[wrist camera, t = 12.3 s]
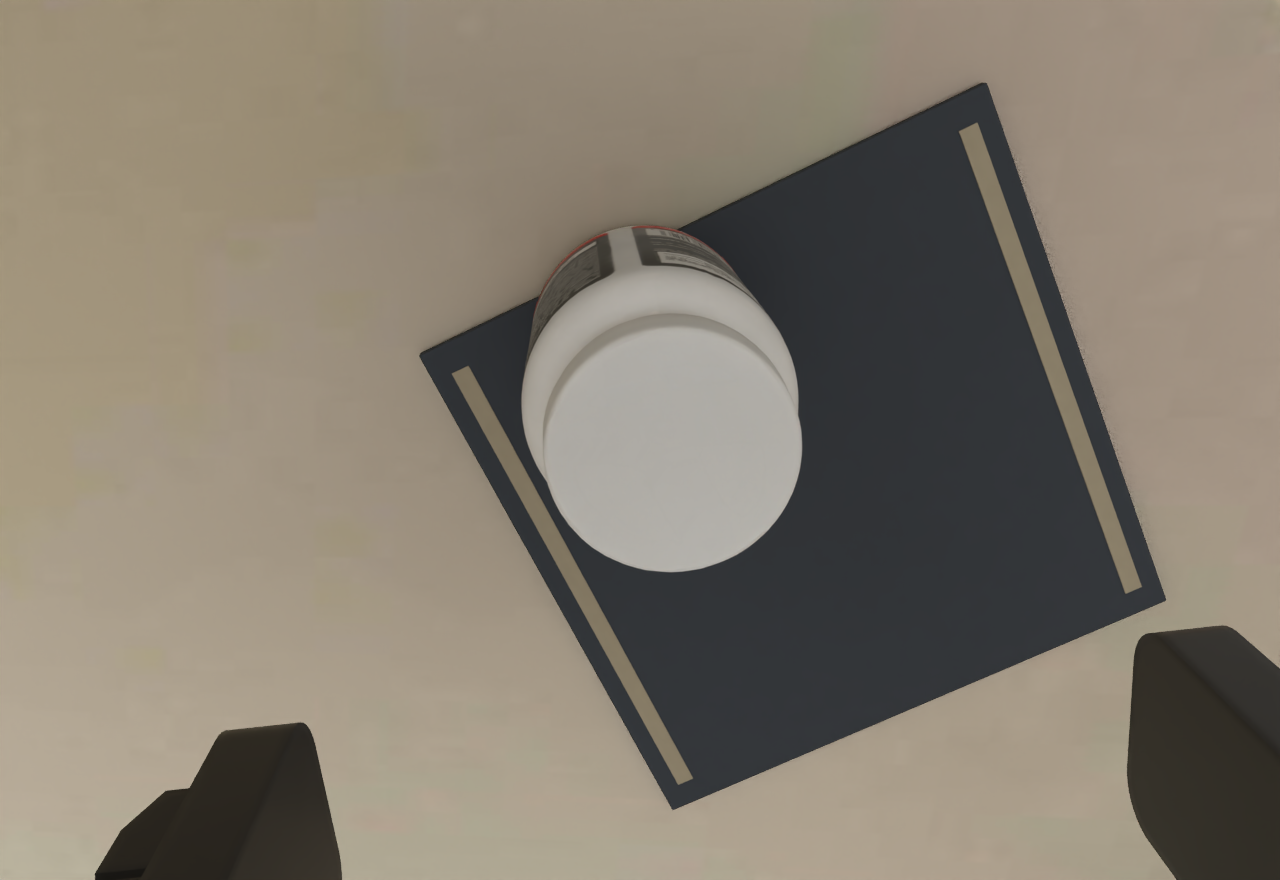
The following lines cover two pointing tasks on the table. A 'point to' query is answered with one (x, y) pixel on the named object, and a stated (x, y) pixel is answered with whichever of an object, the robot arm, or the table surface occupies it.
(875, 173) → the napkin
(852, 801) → the table surface
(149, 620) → the table surface
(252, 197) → the table surface
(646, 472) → the pill bottle
